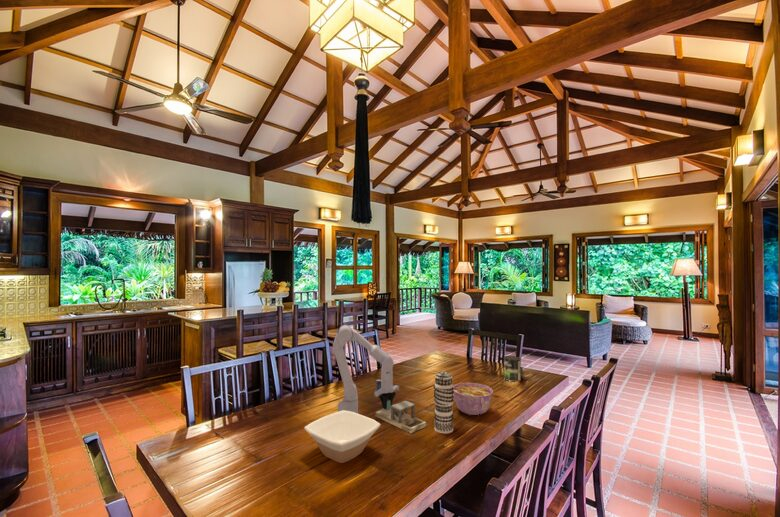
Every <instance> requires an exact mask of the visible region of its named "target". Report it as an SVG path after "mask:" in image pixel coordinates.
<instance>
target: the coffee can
mask: <svg viewBox="0 0 780 517" xmlns="http://www.w3.org/2000/svg"><path fill="white" fill-rule="evenodd" d="M505 379H506V380H509V381H508V382H510V381H519V380H520V381H521V357H520V356H516V355H505V356H503V380H505ZM506 380H505V381H506ZM520 381H519V382H520Z"/></svg>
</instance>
